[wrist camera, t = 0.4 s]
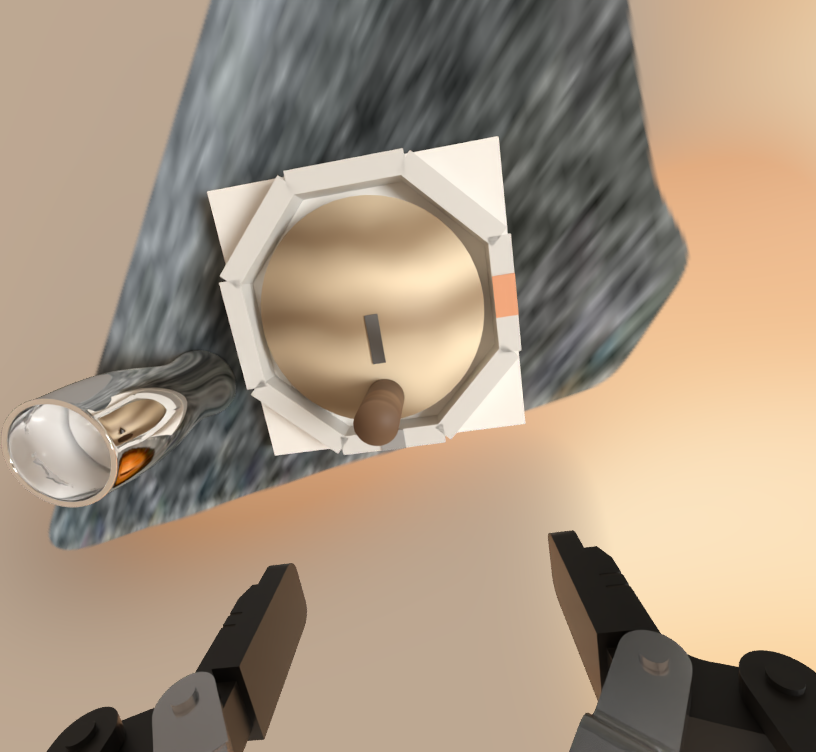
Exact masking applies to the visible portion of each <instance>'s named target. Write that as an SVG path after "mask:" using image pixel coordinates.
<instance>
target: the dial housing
mask: <svg viewBox="0 0 816 752" xmlns="http://www.w3.org/2000/svg"><path fill="white" fill-rule="evenodd" d="M283 172H284V177H279V176H278V175H277V177H276V179H271V180H265V181H260V182H255V183H249V184H244V185H239V186H234V187H228V188H223V189H218V190H213V191H207V194H208V198H209V201H210V205H211V209H212V213H213V217H214V221H215V225H216V229H217V232H218V236H219V240H220V244H221V248H222V252H223V256H224V260H225V263H226V266H225V268H224V269H223V271H222V273H221V275H220V277H222V278H223V279H225V280H226V282H220V283H219V285H220V289H221V292H222V296H223V300H224V304H225V308H226V311H227V315H228V319H229V323H230V326H231V330H232V334H233V338H234V342H235V345H236V349H237V353H238V357H239V360H240V364H241V368H242V372H243V376H244V379H245V383H246V387H247V390H248V389H254V391H253V392H252V394H251V395H252V396H253V397H255V398H256V399H258V400H259V401H261V403H262V407H263V411H264V415H265V419H266V422H267V426H268V430H269V434H270V438H271V442H272V446H273V450H274V453H275V455H283V454H291V453H299V452H307V451H315V450H322V449H332V450H333V451H335V452H336V453H339V451H340V450H341V449H343V453H344V455H348V454H356V453H364V452H372V451H380V450H382V451H385V450H393V449H401V448H406V447H412V446H420V445H428V444H435V443H443V442H445V435H446V436H447V437H449V438H450V439H452V438H453V436H454V435H455V434H456V433H457V432H464V431H472V430H480V429H488V428H495V427H504V426H511V425H519V424H525V415H524V404H523V394H522V383H521V372H520V362H519V351H521V341H520V330H519V319H518V304H517V293H516V282H515V273H514V264H513V253H512V243H511V234H507V223H506V212H505V201H504V191H503V180H502V169H501V159H500V148H499V137H498V136H497V137H492V138H486V139H481V140H476V141H470V142H465V143H460V144H455V145H449V146H444V147H439V148H434V149H428V150H423V151H418V152H412V151H409V152H408V153H407V154H404V152H403V148H401V149H396V150H391V151H386V152H380V153H375V154H370V155H365V156H360V157H354V158H349V159H344V160H339V161H333V162H328V163H323V164H318V165H313V166H307V167H302V168H297V169H292V170H286V171H283ZM360 195H381V196H387V197H393V198H397V199H401V200H404V201H407V202H410V203H412V204H414V205H416V206H419V207H421V208H423V209H425V210H426V211H428V212H429V213H431V214H432V215H434V216H435V217H437V218H438V219H440V220H441V221H442V222H443V223H444V224H445V225H446V226H448V227H449V228H450V229H451V230H452V231H453V233H454V234H455V235H456V236H457V237H458V238H459V240H460V241H461V242H462V244H463V245H464V247H465V248H466V250H467V251H468V253H469V254H470V256H471V259H472V261H473V263H474V265H475V267H476V269H477V273H478V276H479V279H480V282H481V286H482V292H483V298H484V324H483V331H482V336H481V340H480V344H479V347H478V350H477V352H476V355H475V357H474V359H473V361H472V363H471V365H470V367H469V369H468V371H467V372H466V373H465V375H464V376H463V378H462V379H461V381H460V382H459V383H458V384H457V385H456V386H455V387H454V388H453V389H452V391H451V392H449V393H448V394H447V395H446V396H445V397H443V398H442V399H441V400H440V401H438V402H437V403H435V404H434V405H432V406H431V407H429V408H427V409H425V410H423V411H421V412H419V413H417V414H414V415H411V416H408V417H405V418H401V420H400V425H399V430H398V433H397V435H396V437H395V438H394V439H393V440H392V441H391V442H389V443H388V444H385V445H382V446H372V445H369V444H366V443H364V442H363V441H362V440H360V439H359V437H358V436H357V435H356V433H355V431H354V426H353V421H354V419H350V418H347V417H343V416H340V415H337V414H334V413H332V412H330V411H328V410H325V409H323V408H322V407H320V406H318V405H317V404H315V403H313V402H312V401H310V400H309V399H308V398H306V397H305V396H304V395H303V394H301V393H300V392H299V391H298V390H297V389H296V388H295V387H294V386H293V385H292V384H291V383H290V382H289V380H288V379H287V378H286V377H285V375H284V374H283V373H282V371H281V370H280V368H279V367H278V365H277V363H276V362H275V360H274V358H273V356H272V353H271V351H270V349H269V347H268V344H267V341H266V337H265V334H264V330H263V324H262V319H261V293H262V286H263V281H264V276H265V273H266V270H267V267H268V264H269V261H270V259H271V257H272V255H273V253H274V251H275V249H276V247H277V246H278V245H279V243H280V242H281V240H282V239H283V237H284V236H285V235H286V234H287V232H288V231H289V230H290V229H291V228H292V227H293V226H294V225H295V224H296V223H297V222H298V221H300V220H301V219H302V218H303V217H305V216H306V215H307V214H309V213H310V212H312V211H314V210H315V209H317V208H319V207H320V206H323V205H325V204H328V203H330V202H332V201H335V200H339V199H342V198H346V197H351V196H360Z"/></svg>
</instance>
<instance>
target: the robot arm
mask: <svg viewBox="0 0 816 752" xmlns="http://www.w3.org/2000/svg"><path fill="white" fill-rule="evenodd" d="M548 541H549V551H550V560H551V569H552V577H553V583H554V587H555V591H556V595H557V598H558V601H559V603H560V606H561V609H562V611H563V614H564V616H565V619H566V621H567V624H568V626H569V629H570V631H571V634H572V636H573V639H574V642H575V644H576V646H577V649H578V651H579V654H580V657H581V659H582V662H583V664H584V667H585V669H586V672H587V675H588V677H589V680H590V682H591V685H592V687H593V690H594V692H595V695H596V697H597V700H598V703H597V706H596V709H595V711H594V713H593V714H592V715H591V714H590V713H586V714H585V715H584V716H583V718H582V719H581V722H580V724H579V727H578V729H577V732H576V735H575V737H574V740H573V743H572V746H571V748H570V751H569V752H816V673H815V672H814V671H813V670H812V669H810V668H809V667H807V666H806V665H804V664H803V663H801V662H799V661H797V660H795V659H793V658H791V657H788V656H786V655H783V654H780V653H776V652H771V651H763V650H759V651H752V652H749V653H747V654H745V655H744V656H743V657H742V658H741V660H740V662H739V667H735V666H730V665H725V664H720V663H714V662H708V661H705V660H701V659H698V658H695V657H692V656H690V655H688V654H687V653H686V652H685V651H684V650H683V648H682V647H681V646H679V645H678V644H677V643H676V642H675V641H673V640H672V639H670V638H668V637H667V636H665V635H662V634H661V633H660V632H659V630H658V629H657V627H656V625H655V624H654V622H653V621H652V619H651V618H650V616H649V615H648V613H647V612H646V610H645V608H644V607H643V605H642V604H641V602H640V601H639V599H638V597H637V596H636V594H635V593H634V591H633V590H632V588H631V587H630V586H629V584H628V582H627V581H626V579H625V577H624V576H623V575H622V574H621V571H620V570H619V568H618V566H617V565H616V563H615V562H614V560H613V559H612V557H611V556H609V555H608V554H606V553H605V552H604V551H602V550H601V549H600V548H598V547H597V546H595V547H586V548H584V547H583V545H582V543H581V542H580V540H579V538H578V536H577V534H576V533H575V532H574V531H573V530H572V531H564V532H556V533H549V534H548ZM306 616H307V607H306V601H305V598H304V594H303V591H302V587H301V583H300V580H299V576H298V572H297V569H296V567H295V565H294V564H292V563H289V564H281V565H273V566H269V567H268V568H267V570H266V571H265V573H264V575H263V576H262V578H261V580H260V582H259V584H257V585H252V586H251V587H250V588H249V589H248V590H247V591H246V592H245V593H244V594H243V595H242V596H241V597H240V598H239V599H238V601H237V602H236V604H235V606H234V608H233V609H232V611H231V613H230V616H228V618H227V619H226V621H225V623H224V624H223V628H221V630H220V631H219V633H218V635H217V636H216V638H215V640H214V642H213V643H212V645H211V647H210V648H209V650H208V652H207V653H206V655H205V657H204V658H203V660H202V662H201V664H200V665H199V667H198V669H197V670H196V672H195V673H193V674H190V675H188V676H186V677H184V678H182V679H181V680H179V681H178V682H176V683H175V684H174V685H172V686H171V687H170V688H169V689H168V690H167V691H166V692H165V693H164V694H163V695H162V697H161V698H160V699H159V701H158V703H157V704H156V706H155V708H153V709H150V710H148V711H145V712H143V713H140V714H138V715H135V716H132V717H130V718H127V719H125V720H122V721H121V719H120V717H119V715H118V712H117V711H116V710H115V709H114V708H112V707H102V708H98V709H95V710H93V711H91V712H89V713H87V714H85V715H84V716H82V717H80V718H79V719H78V720H76V721H75V722H73V723H72V724H71V725H70V726H69V727H67V728H66V729H65V730H64V731H63V732H62V733H61V734H60V735H59V736H58V738H57V739H56V740H55V741H54V743H53V744H52V745H51V747H50V748H49V749H48V750H47V752H243V750H244V748H245V746H246V743H247V741H251V740H263V739H265V736H266V733H267V730H268V727H269V725H270V721H271V719H272V716H273V713H274V710H275V708H276V705H277V702H278V699H279V697H280V694H281V691H282V688H283V685H284V682H285V680H286V677H287V674H288V671H289V669H290V666H291V663H292V660H293V657H294V655H295V652H296V649H297V646H298V643H299V640H300V637H301V635H302V632H303V629H304V626H305V623H306Z"/></svg>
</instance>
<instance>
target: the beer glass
mask: <svg viewBox="0 0 816 752" xmlns="http://www.w3.org/2000/svg"><path fill="white" fill-rule="evenodd" d="M235 394H236V380H235V376H234V374H233V372H232V370H231V368H230V367H229V365H228V364H227V363H226V362H225V361H224V360H223V359H222V358H220V357H219V356H217V355H216V354H214V353H211V352H208V351H202V350H194V351H189V352H187V353H184V354H182V355H181V356H179V357H178V358H176V359H175V360H173V361H172V362H171V363H169V364H167V365H163V366H156V367H144V368H134V369H125V370H119V371H113V372H108V373H104V374H100V375H97V376H93V377H89V378H86V379H84V380H81V381H78V382H75V383H72V384H70V385H67V386H65V387H63V388H60V389H57V390H55V391H53V392H50V393H48V394H46V395H44V396H41V397H39V398H36V399H34V400H30V401H27V402H25V403H23V404H21V405H19V406H18V407H16V408H15V409H14V410H13V411H12V412H11V413H10V414H9V415H8V417H7V419H6V420H5V422H4V425H3V427H2V432H1V448H2V453H3V457H4V459H5V462H6V464H7V466H8V468H9V470H10V471H11V473H12V474H13V476H14V477H15V478H16V480H17V481H18V482H19V483H20V484H21V485H22V486H23V487H24V488H26V489H27V490H28V491H29V492H30V493H32V494H33V495H35V496H36V497H38V498H40V499H42V500H44V501H46V502H48V503H51V504H54V505H58V506H63V507H82V506H86V505H90V504H92V503H95V502H97V501H98V500H100V499H101V498H103V497H104V496H105V495H107V494H109V493H111V492H112V491H114V490H116V489H118V488H120V487H121V486H123V485H125V484H127V483H128V482H130V481H132V480H133V479H135V478H137V477H138V476H140V475H141V474H143V473H144V472H146V471H147V470H149V469H150V468H152V467H153V466H154V465H156V464H157V463H158V462H160V461H161V460H162V459H163V458H165V457H166V456H167V455H168V454H169V453H170V452H171V451H172V450H173V449H174V448H175V447H176V446H177V445H178V444H179V443H180V442H181V441H182V440H183V439H184V438H185V436H186V435H187V434H188V433H189V432H190V431H191V430H192V428H193V427H194V426H195V425H196V424H197V423H198V422H199V421H200V420H202V419H204V418H206V417H210V416H213V415H216V414H218V413H220V412H222V411H224V410H225V409H227V408H228V407H229V406H230V404H231V403H232V401H233V399H234V397H235Z"/></svg>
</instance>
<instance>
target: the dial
mask: <svg viewBox="0 0 816 752" xmlns="http://www.w3.org/2000/svg"><path fill="white" fill-rule="evenodd" d="M261 319H262V324H263V330H264V334H265V337H266V341H267V344H268V347H269V349H270V351H271V353H272V356H273V358H274V360H275V362H276V363H277V365H278V367H279V368H280V370H281V371H282V373H283V374H284V375H285V377H286V378H287V379H288V380H289V382H290V383H291V384H292V385H293V386H294V387H295V388H296V389H297V390H298V391H299V392H300V393H301V394H303V395H304V396H305V397H306V398H308V399H309V400H310V401H312V402H313V403H315V404H317V405H318V406H320V407H322V408H323V409H325V410H328V411H330V412H332V413H334V414H337V415H340V416H343V417H347V418H350V419H354V421H353V426H354V431H355V433H356V435H357V436H358V437H359V439H360V440H362V441H363V442H364V443H366V444H369V445H372V446H382V445H385V444H388V443H389V442H391V441H392V440H393V439H394V438H395V437H396V435H397V433H398V430H399V425H400V420H401V418H405V417H408V416H411V415H414V414H417V413H419V412H421V411H423V410H425V409H427V408H429V407H431V406H432V405H434V404H435V403H437V402H438V401H440V400H441V399H442V398H443V397H445V396H446V395H447V394H448V393H449V392H451V391H452V389H453V388H454V387H455V386H456V385H457V384H458V383H459V382H460V381H461V379H462V378H463V376H464V375H465V373H466V372H467V371H468V369H469V367H470V365H471V363H472V361H473V359H474V357H475V355H476V352H477V350H478V347H479V344H480V340H481V336H482V331H483V324H484V298H483V292H482V286H481V282H480V279H479V276H478V273H477V269H476V267H475V265H474V263H473V261H472V259H471V256H470V254H469V253H468V251H467V250H466V248H465V247H464V245H463V244H462V242H461V241H460V240H459V238H458V237H457V236H456V235H455V234H454V233H453V231H452V230H451V229H450V228H449V227H448V226H446V225H445V224H444V223H443V222H442V221H441V220H440V219H438V218H437V217H435V216H434V215H432V214H431V213H429V212H428V211H426V210H425V209H423V208H421V207H419V206H416V205H414V204H412V203H410V202H407V201H404V200H401V199H397V198H393V197H387V196H381V195H360V196H351V197H346V198H342V199H339V200H335V201H332V202H330V203H328V204H325V205H323V206H320V207H319V208H317V209H315V210H314V211H312V212H310V213H309V214H307V215H306V216H305V217H303V218H302V219H301V220H300V221H298V222H297V223H296V224H295V225H294V226H293V227H292V228H291V229H290V230H289V231H288V232H287V234H286V235H285V236H284V237H283V239H282V240H281V242H280V243H279V245H278V246H277V247H276V249H275V251H274V253H273V255H272V257H271V259H270V261H269V264H268V267H267V270H266V273H265V276H264V281H263V286H262V293H261Z"/></svg>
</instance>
